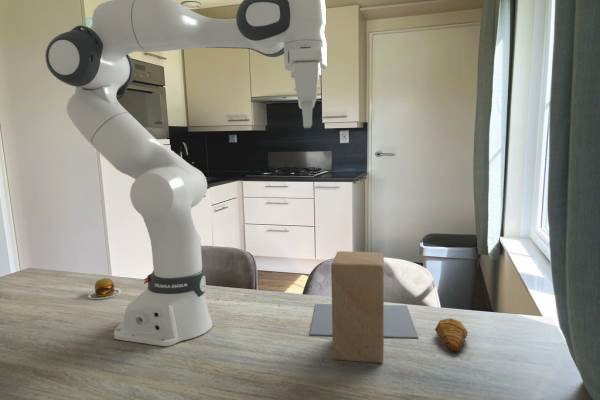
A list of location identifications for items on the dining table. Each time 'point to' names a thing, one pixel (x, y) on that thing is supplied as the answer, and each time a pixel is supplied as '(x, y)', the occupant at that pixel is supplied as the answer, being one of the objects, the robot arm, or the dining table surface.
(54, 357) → the dining table surface
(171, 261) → the robot arm
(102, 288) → the hamburger
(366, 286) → the wooden block
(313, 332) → the felt mat
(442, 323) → the croissant
